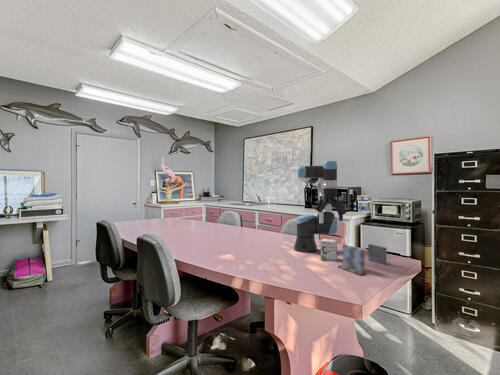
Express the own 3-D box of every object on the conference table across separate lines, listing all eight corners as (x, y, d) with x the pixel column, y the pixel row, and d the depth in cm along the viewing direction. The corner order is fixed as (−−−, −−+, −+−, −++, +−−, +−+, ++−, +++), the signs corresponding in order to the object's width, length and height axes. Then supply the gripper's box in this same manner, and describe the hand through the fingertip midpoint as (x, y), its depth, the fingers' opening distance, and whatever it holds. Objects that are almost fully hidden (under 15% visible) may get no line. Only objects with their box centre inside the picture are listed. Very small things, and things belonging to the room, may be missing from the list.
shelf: (337, 267, 137) (337, 244, 137) (371, 260, 150) (371, 239, 150) (360, 275, 125) (360, 250, 125) (394, 266, 138) (394, 244, 138)
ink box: (337, 260, 151) (337, 239, 151) (335, 262, 146) (335, 241, 146) (322, 258, 155) (322, 238, 155) (320, 260, 150) (320, 240, 150)
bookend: (368, 260, 146) (368, 244, 146) (373, 259, 148) (373, 243, 148) (385, 265, 137) (385, 248, 137) (390, 263, 139) (390, 247, 139)
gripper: (309, 187, 159) (310, 222, 159) (343, 188, 137) (343, 228, 138) (318, 187, 163) (318, 221, 163) (352, 188, 141) (352, 227, 142)
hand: (330, 224), depth 150 cm, fingers open, 13 cm apart
